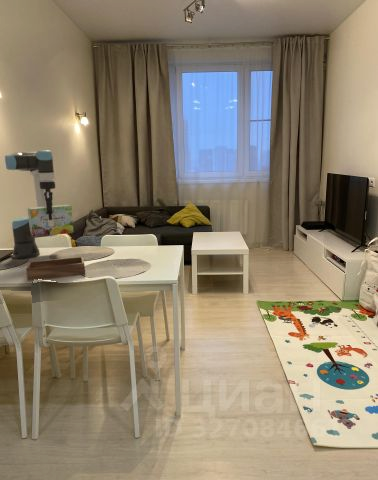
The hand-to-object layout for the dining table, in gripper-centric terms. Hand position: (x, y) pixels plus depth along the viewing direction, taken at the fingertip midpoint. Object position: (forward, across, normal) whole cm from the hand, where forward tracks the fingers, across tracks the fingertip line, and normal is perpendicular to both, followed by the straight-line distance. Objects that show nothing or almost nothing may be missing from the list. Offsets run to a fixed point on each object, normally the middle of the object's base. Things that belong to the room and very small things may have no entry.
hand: (51, 224), depth 195 cm
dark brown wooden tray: (+23, +14, +1) cm, 27 cm away
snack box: (+6, 0, 0) cm, 6 cm away
